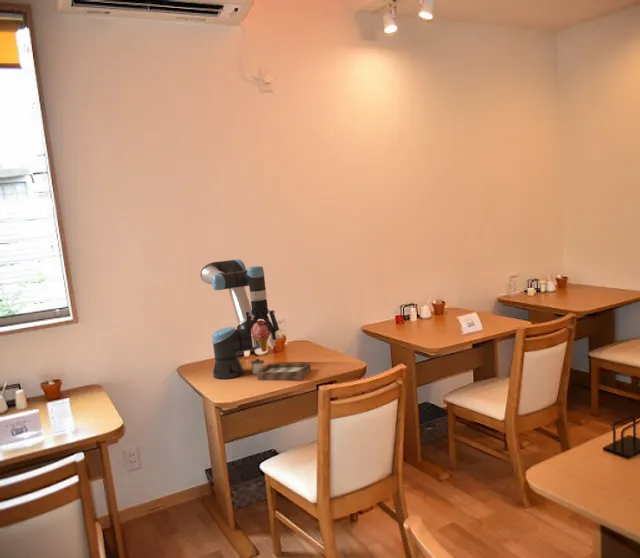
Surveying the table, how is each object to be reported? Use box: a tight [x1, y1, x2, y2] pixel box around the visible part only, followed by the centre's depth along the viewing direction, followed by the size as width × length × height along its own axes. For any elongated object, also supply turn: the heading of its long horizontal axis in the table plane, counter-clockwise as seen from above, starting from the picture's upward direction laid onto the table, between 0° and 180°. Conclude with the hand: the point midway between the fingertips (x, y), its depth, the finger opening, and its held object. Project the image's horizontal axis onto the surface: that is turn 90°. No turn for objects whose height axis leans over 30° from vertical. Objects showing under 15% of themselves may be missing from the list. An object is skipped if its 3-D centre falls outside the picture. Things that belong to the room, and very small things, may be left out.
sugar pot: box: [250, 358, 265, 375], centre depth 283 cm, size 6×6×8 cm
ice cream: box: [251, 319, 271, 353], centre depth 264 cm, size 11×10×15 cm
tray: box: [256, 362, 312, 382], centre depth 275 cm, size 22×16×4 cm
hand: (264, 346), depth 265 cm, fingers closed on ice cream, 9 cm apart
